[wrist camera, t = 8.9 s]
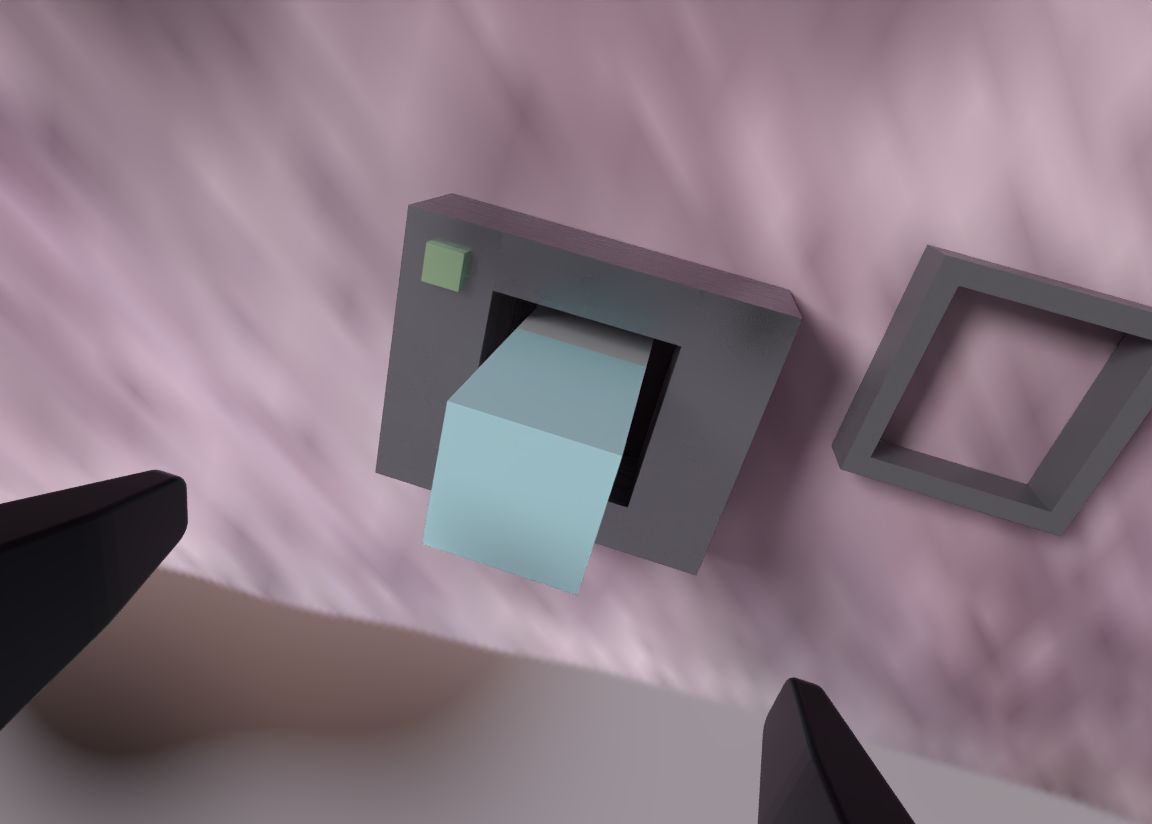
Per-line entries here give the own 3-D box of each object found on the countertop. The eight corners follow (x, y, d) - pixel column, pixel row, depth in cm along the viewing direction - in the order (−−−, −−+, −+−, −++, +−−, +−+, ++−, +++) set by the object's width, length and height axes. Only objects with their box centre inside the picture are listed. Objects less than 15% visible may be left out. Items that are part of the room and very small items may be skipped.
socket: (789, 290, 18) (804, 322, 15) (698, 519, 22) (696, 581, 19) (451, 193, 19) (403, 206, 16) (415, 430, 22) (370, 477, 19)
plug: (655, 333, 19) (622, 455, 12) (623, 433, 21) (577, 595, 14) (543, 299, 20) (446, 401, 12) (520, 401, 21) (421, 543, 14)
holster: (1168, 311, 17) (1208, 328, 15) (1036, 507, 19) (1061, 536, 18) (927, 244, 17) (946, 254, 16) (831, 445, 20) (840, 469, 18)
